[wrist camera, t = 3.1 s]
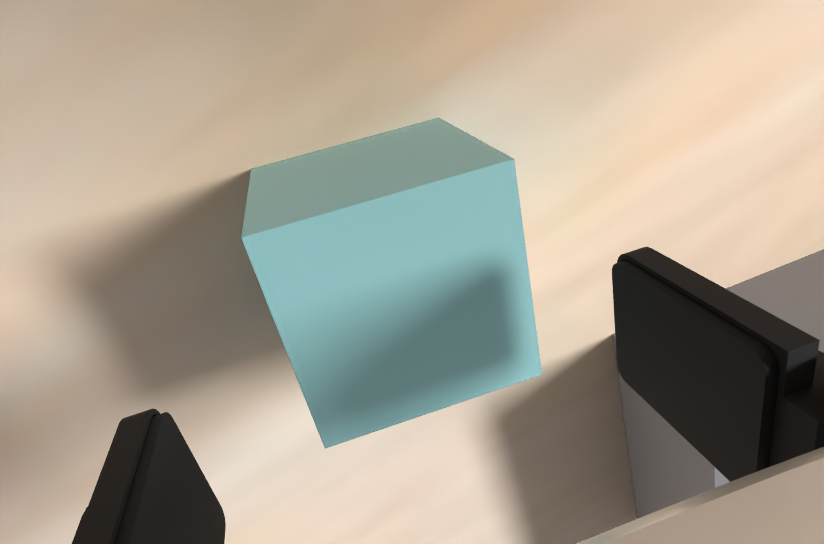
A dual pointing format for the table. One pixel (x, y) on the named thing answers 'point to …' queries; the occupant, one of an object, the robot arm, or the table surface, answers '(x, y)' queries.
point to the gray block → (668, 450)
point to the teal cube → (394, 274)
